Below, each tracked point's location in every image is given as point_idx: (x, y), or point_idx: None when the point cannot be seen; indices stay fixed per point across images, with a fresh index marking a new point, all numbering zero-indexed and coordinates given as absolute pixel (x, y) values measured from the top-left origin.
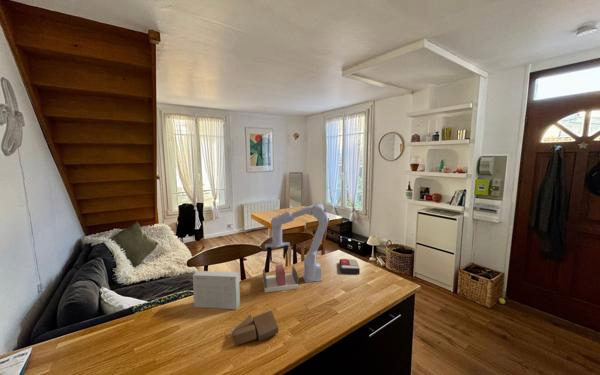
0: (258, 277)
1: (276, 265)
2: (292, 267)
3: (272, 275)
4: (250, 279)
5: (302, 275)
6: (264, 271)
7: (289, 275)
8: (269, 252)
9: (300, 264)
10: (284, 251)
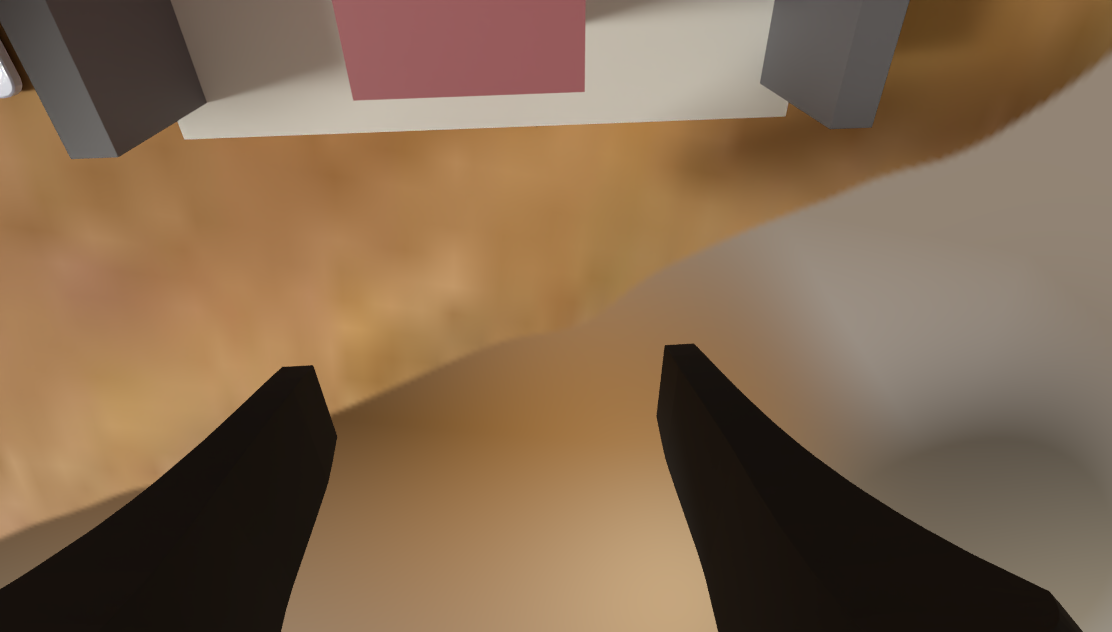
0: (808, 183)
1: (551, 81)
2: (101, 113)
3: (608, 113)
4: (943, 141)
5: (11, 82)
6: (875, 2)
7: (259, 43)
8: (887, 529)
9: (163, 448)
10: (140, 572)
